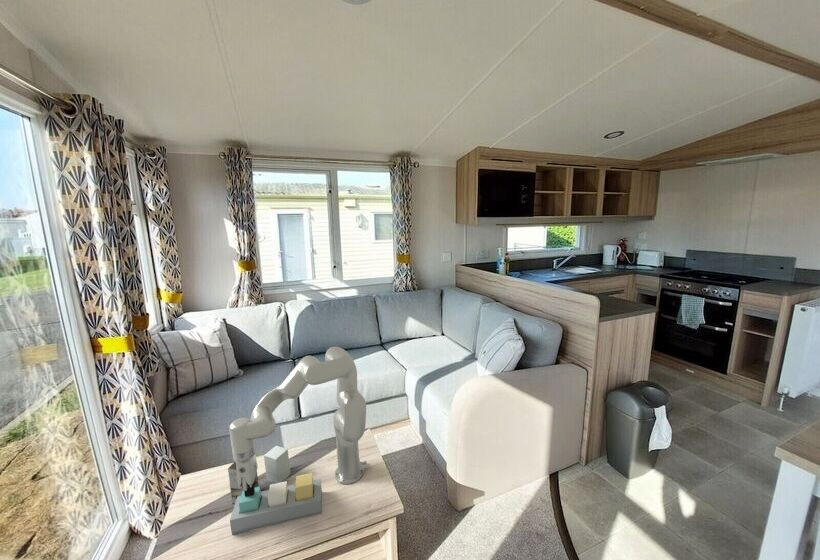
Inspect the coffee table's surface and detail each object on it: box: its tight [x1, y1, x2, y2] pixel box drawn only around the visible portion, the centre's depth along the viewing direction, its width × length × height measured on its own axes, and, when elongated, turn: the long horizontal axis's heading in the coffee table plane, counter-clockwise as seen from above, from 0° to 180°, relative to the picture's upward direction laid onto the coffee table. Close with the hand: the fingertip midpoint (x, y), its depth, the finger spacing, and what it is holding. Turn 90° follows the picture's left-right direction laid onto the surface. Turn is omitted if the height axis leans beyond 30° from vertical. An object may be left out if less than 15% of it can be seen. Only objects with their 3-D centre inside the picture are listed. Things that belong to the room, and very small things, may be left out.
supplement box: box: [263, 445, 291, 484], centre depth 146 cm, size 7×7×13 cm
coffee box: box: [227, 461, 260, 504], centre depth 136 cm, size 9×6×16 cm
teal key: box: [239, 486, 261, 514], centre depth 125 cm, size 6×6×7 cm
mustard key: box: [295, 472, 314, 501], centre depth 130 cm, size 6×6×7 cm
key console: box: [229, 478, 323, 535], centre depth 128 cm, size 32×11×6 cm, turn 104°
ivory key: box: [268, 481, 288, 507], centre depth 128 cm, size 6×6×7 cm
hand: (250, 494), depth 125 cm, fingers closed
